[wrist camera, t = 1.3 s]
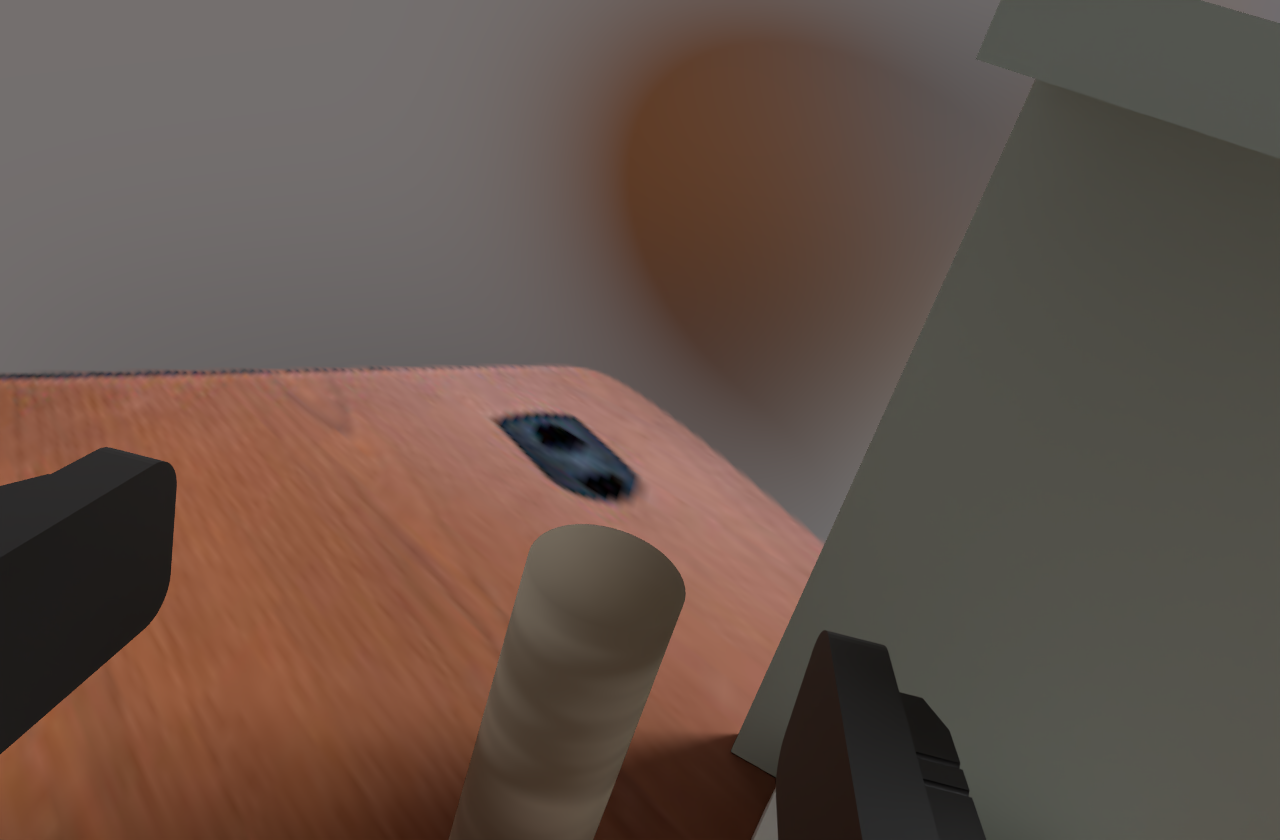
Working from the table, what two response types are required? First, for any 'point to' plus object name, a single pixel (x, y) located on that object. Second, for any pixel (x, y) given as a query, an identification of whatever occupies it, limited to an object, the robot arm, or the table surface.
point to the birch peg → (569, 685)
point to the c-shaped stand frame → (1089, 448)
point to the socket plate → (768, 822)
